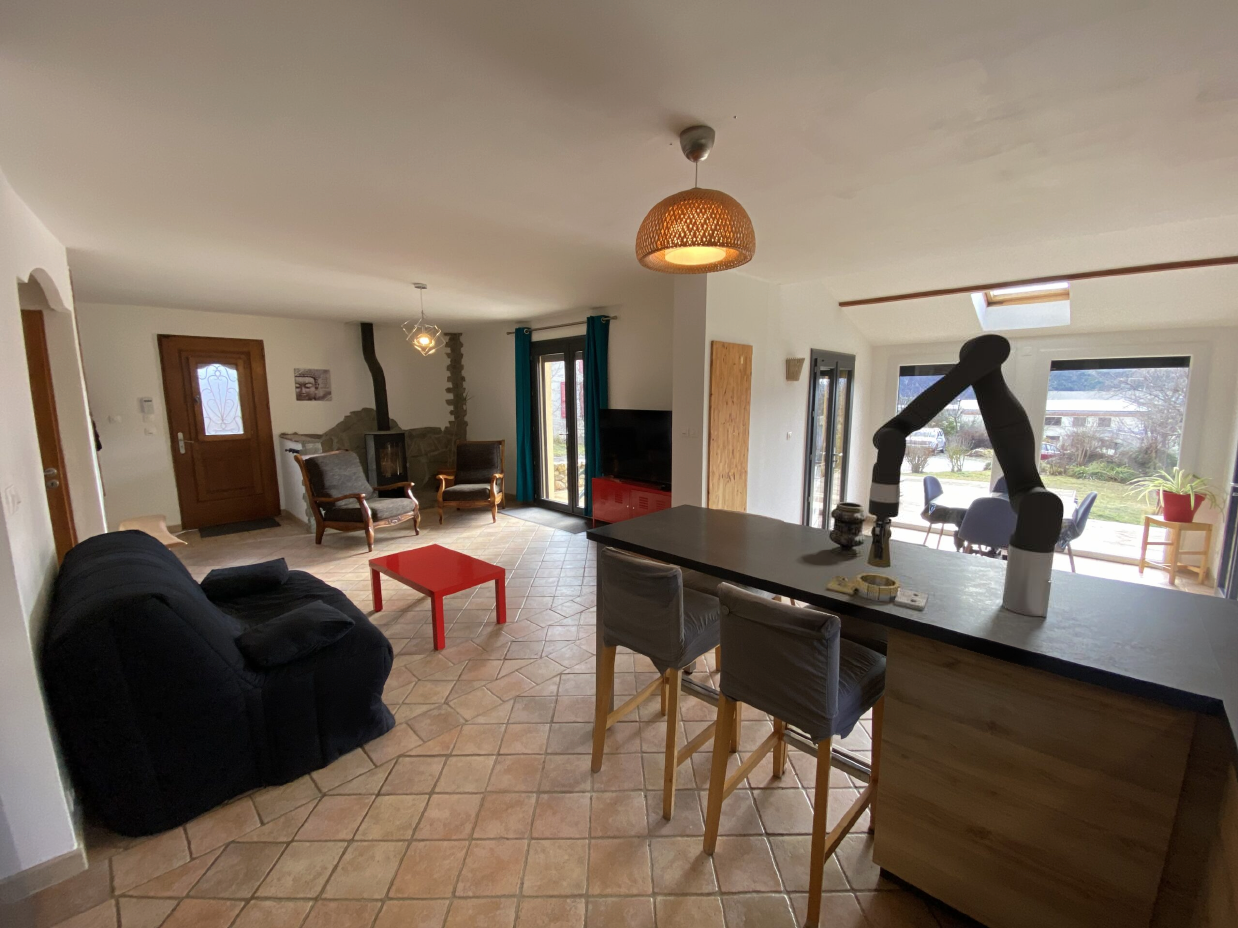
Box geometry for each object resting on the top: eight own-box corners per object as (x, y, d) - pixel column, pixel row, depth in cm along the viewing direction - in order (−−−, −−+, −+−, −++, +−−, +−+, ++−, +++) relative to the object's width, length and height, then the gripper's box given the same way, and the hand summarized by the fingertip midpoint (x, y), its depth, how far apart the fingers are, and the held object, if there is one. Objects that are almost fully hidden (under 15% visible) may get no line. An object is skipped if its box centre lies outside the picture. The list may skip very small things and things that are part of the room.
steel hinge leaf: (928, 597, 141) (929, 591, 141) (923, 611, 132) (924, 604, 132) (860, 583, 152) (861, 577, 151) (851, 594, 143) (852, 588, 143)
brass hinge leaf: (901, 592, 145) (902, 579, 144) (894, 604, 136) (895, 590, 136) (837, 578, 156) (837, 566, 155) (827, 589, 147) (828, 576, 147)
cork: (868, 566, 141) (871, 528, 139) (866, 559, 147) (868, 523, 145) (892, 568, 139) (895, 530, 137) (889, 561, 144) (892, 525, 143)
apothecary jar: (868, 558, 174) (872, 508, 171) (832, 556, 176) (835, 507, 174) (859, 548, 186) (862, 501, 183) (825, 546, 188) (828, 500, 185)
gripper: (894, 504, 132) (889, 566, 135) (903, 496, 143) (898, 553, 146) (864, 501, 137) (859, 560, 139) (874, 492, 148) (870, 548, 150)
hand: (879, 556), depth 142 cm, fingers closed on cork, 4 cm apart
